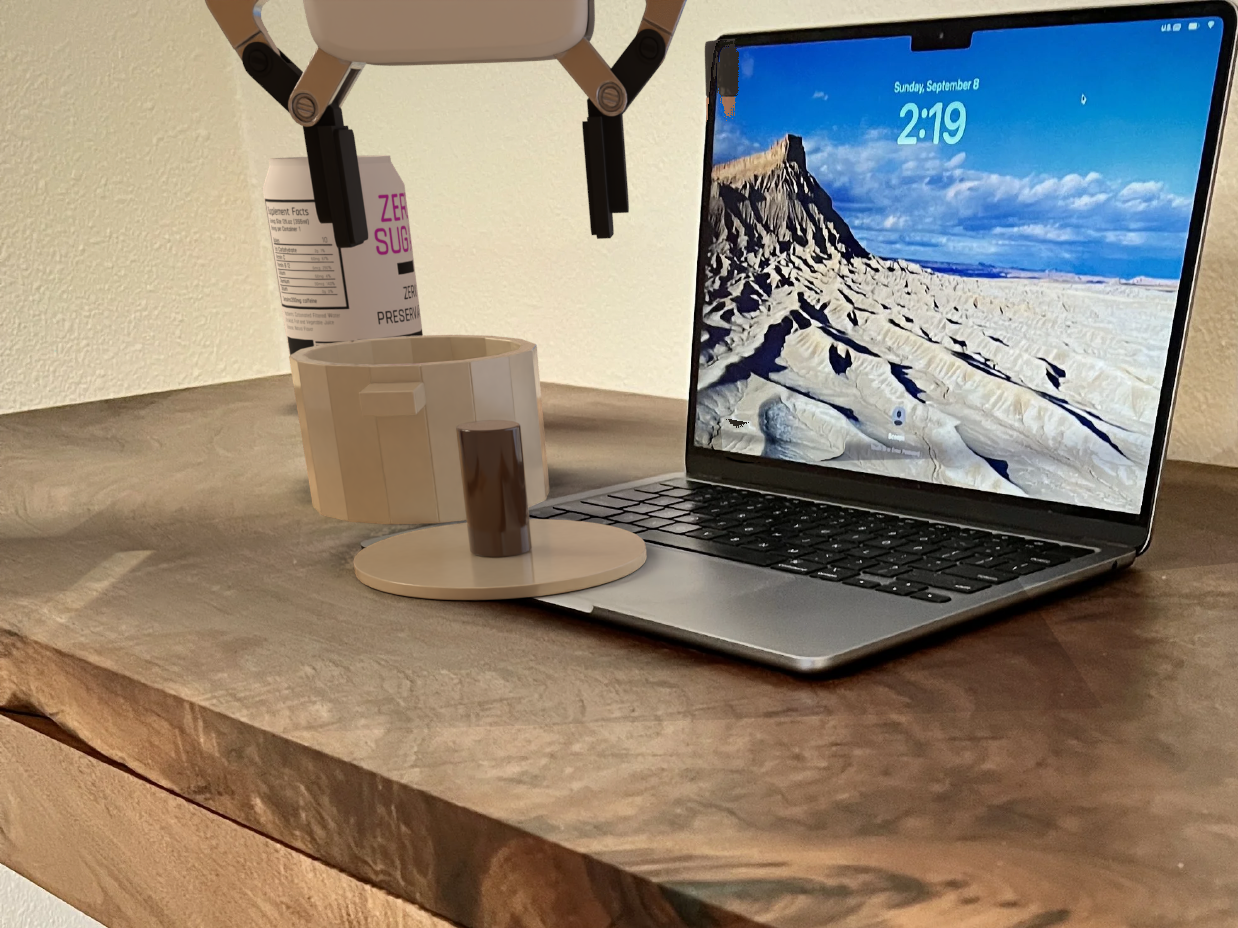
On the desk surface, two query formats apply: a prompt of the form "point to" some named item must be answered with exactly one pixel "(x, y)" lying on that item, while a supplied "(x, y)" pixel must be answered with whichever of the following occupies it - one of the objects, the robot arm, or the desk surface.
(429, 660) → the desk surface
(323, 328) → the supplement can
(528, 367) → the pot
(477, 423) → the lid
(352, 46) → the robot arm
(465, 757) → the desk surface
